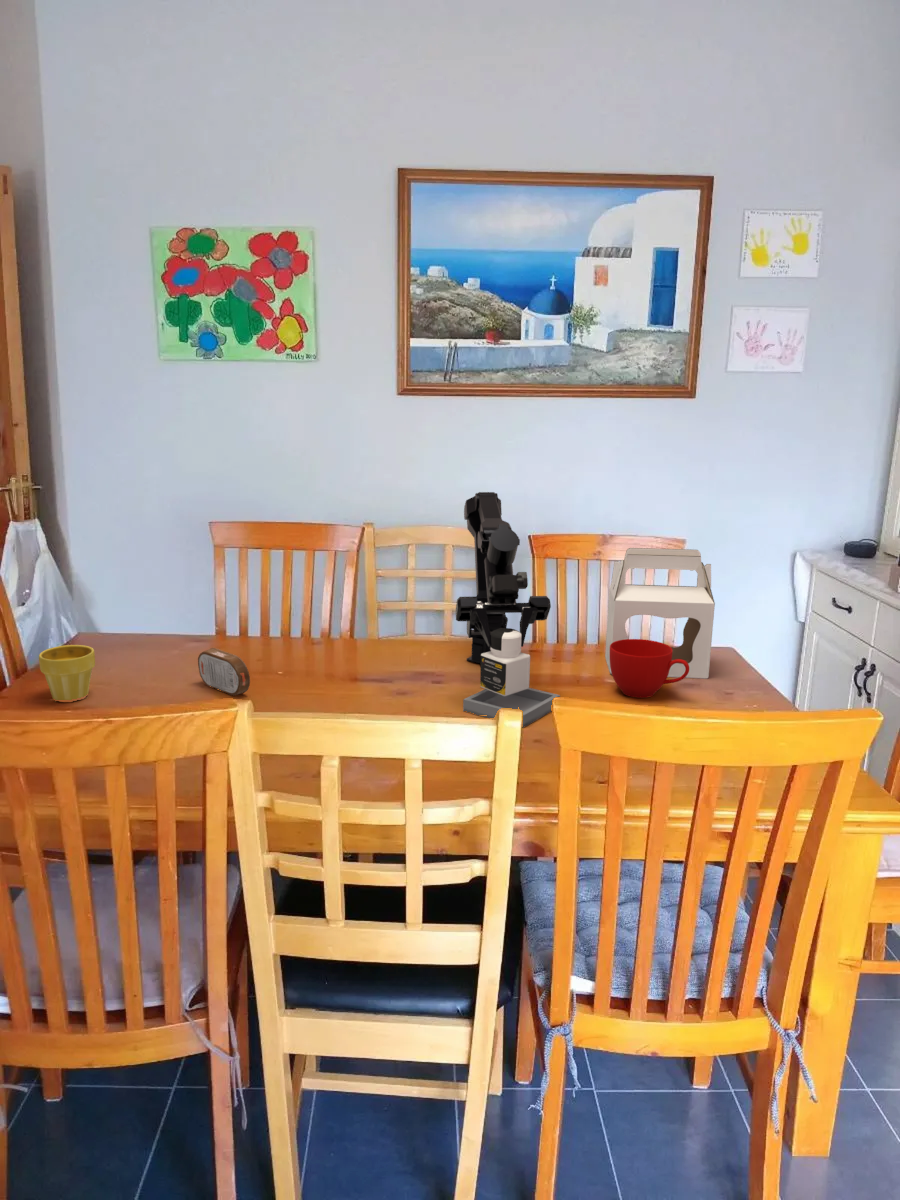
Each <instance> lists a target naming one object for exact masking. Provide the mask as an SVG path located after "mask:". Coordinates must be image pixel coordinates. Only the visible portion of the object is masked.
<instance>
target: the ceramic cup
mask: <svg viewBox="0 0 900 1200" xmlns="http://www.w3.org/2000/svg"><path fill="white" fill-rule="evenodd" d="M671 647H672V646H670V645H668V644H666V643H663V642H660V641H656V640H650V639H643V638H642V639H641V638H640V639H639V638H628V639H625V640H619V641H615V642H613V643H612V644H611V645H610V668H611V672H612V675H611V676H612V677H613V680H614V682H615V684H616V685H617V687H618V688H619V689H620V690H621V692H622V693H623V694H624V695H626V696H627V697H628V696H629V697H633V698H639V699H640V698H641V699H643V698H644V699H645V698H650V697H653V696H654V695H655V694H656V693H657V692H658V691H659V690H660V689H661V688H662V687H663V685H666V684H673V683H678V682H680V681H682V680H684V679H686V678H685V677H686V676H687V675H688V673H689V664H688V663H687V662H686V661H685V660H682V659H675V660H672V652H673V650H672V648H671ZM671 660H672V661H671ZM675 663H682V664H683V665H684V666H685V669H686V670H685V673H684V674H683V675H682V676H681V677H679V678H678V677H674V678H671V679H668V678H669V677H668V674H669V670H670V668H671V666H672V665H673V664H675Z"/></svg>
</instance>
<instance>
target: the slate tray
mask: <svg viewBox="0 0 900 1200" xmlns="http://www.w3.org/2000/svg"><path fill="white" fill-rule="evenodd" d="M555 697H560V698H561V695H560V694H557V693H553V692H548V691H544V690H541V689H536V688H533V687H532V688H531V687H529V688H528V689H526V690H523V691H520V692H517V693H514V694H511V695H508V696H502V695H500V694H497V693H494V692H492V691H489V690H487V689H484V688H483V689H482V690H480V691H477V692H476V693H473V694H472V695H470V696H467V697H465V698H464V699H462V701H463V703H462V704H463V705H462V706H463V707H462V712H464V711H467V712H466V713H468V712H471V713H474V714H473V715H475V714H476V715H475V716H479V715H487V716H481V717H482V718H486V717H487V718H486V719H490V718H494V717H495V715H496V713H497V711H498V710H499V709H501V708H512V709H518V707H519V709H520V710H522V711H523V727H522V728H526V727H528V725H531V724H532V723H534V722H536V721H538V720H539V719H541V718H542V717H545V716H546V715H548V714H550V713H551V712H552V711H551V705H552V700H553V698H555ZM471 713H470V714H471Z"/></svg>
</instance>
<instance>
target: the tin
mask: <svg viewBox="0 0 900 1200" xmlns="http://www.w3.org/2000/svg"><path fill="white" fill-rule="evenodd" d="M197 664H198V671H199V676H200V678H201V679H202V681H203V683H204V684H205V685H206V686H208V687H209V686H211V687H213V688H212V689H214V688H216V689H219V690H221V691H223V692H222V693H224V692H226V693H228V694H227V695H229V696H232V695H233V697H235V696H238V695H240V694H244V693H246V692H248V690H249V688H250V684H251V678H250V677H251V675H250V672H249V669H248V667H247V664H246V663H245V661H243V659H242V658H240V656H238V655H236V654H233V653H230V652H227V651H225V650H221V649H220V648H216V647H212V648H209V649H206V650H204V651H202V652H200V654H198V657H197ZM211 687H210V688H211ZM216 689H215V690H216ZM219 690H218V691H219ZM221 691H220V692H221ZM226 693H225V694H226Z"/></svg>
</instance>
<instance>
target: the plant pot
mask: <svg viewBox="0 0 900 1200" xmlns="http://www.w3.org/2000/svg"><path fill="white" fill-rule="evenodd" d="M38 662H39V663H38V664H39V670H40V672H41V673H42V674H44V676H45V680H46V682H47V685H48V687H49V691H50V694H51V697H52V700H53V699H55V700H72V699H77V698H81V697H84V696H86V695H87V694H88V695H89V690H90V683H91V678H92V670H93V668H95V666H96V654H95V649H94V648H93V647H91V646H88V645H83V644H67V645H65V644H64V645H60V646H54V647H50V648H47V649H45V650H43V651H41V652H40V653H39V655H38Z"/></svg>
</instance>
